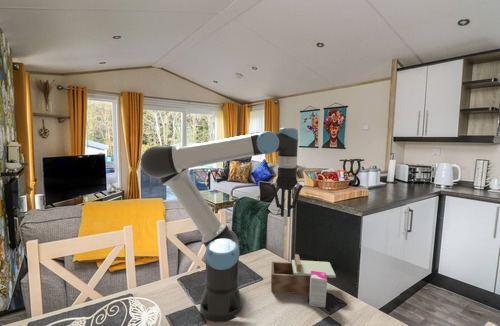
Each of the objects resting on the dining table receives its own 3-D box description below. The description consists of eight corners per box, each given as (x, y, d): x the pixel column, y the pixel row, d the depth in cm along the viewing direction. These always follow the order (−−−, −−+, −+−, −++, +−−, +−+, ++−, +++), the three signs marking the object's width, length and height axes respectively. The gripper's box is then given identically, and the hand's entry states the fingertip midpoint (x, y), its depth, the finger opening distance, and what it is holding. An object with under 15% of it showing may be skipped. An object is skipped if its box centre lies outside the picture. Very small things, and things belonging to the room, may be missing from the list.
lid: (293, 275, 101) (294, 265, 101) (291, 262, 112) (291, 253, 112) (335, 277, 100) (336, 267, 100) (329, 264, 111) (329, 255, 111)
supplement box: (325, 310, 94) (327, 280, 92) (308, 307, 95) (310, 277, 94) (324, 300, 99) (326, 272, 98) (308, 298, 100) (310, 270, 99)
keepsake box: (271, 293, 103) (271, 274, 102) (271, 279, 114) (271, 261, 113) (312, 296, 101) (313, 277, 101) (308, 281, 112) (308, 263, 112)
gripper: (270, 167, 100) (268, 226, 103) (304, 168, 99) (302, 228, 101) (271, 165, 108) (269, 220, 110) (302, 166, 107) (300, 222, 109)
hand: (285, 224), depth 106 cm, fingers closed
